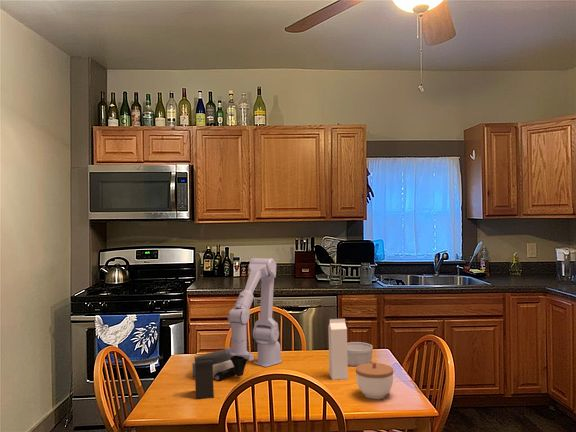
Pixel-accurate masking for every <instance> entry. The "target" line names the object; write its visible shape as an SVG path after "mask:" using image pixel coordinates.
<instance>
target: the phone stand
mask: <svg viewBox="0 0 576 432" xmlns="http://www.w3.org/2000/svg"><path fill="white" fill-rule="evenodd" d="M194 362H195V379H194V380H195V384H194V386H195V400H202V399H203V400H204V399H213V398H215V397H214V394H215V392H214V380H213V378H214V377H213V360H212V359H201V360H195V359H194Z"/></svg>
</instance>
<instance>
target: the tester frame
mask: <svg viewBox="0 0 576 432" xmlns="http://www.w3.org/2000/svg"><path fill="white" fill-rule="evenodd" d="M230 348H232V346H231V347H230ZM231 357H233V356H232V355H230V354H226V348H224V349H220V350H215V351H212V352H208V353H205V354H201V355H196V356H194V361H192V362H191V363H192V365H191V366H192V378H195V360H201V359H212V360H213V365H214V364H218V363H222V362H225V361H229V360H230V358H231Z"/></svg>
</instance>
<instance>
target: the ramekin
mask: <svg viewBox="0 0 576 432" xmlns="http://www.w3.org/2000/svg"><path fill="white" fill-rule="evenodd" d="M372 355H373V345H372V344H370V343H367V342H361V341H350V342H347V362H348V367H349V366H350V367H357V366H358V365H361V364H365V363H372V358H373V357H372Z"/></svg>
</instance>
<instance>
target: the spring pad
mask: <svg viewBox="0 0 576 432" xmlns="http://www.w3.org/2000/svg"><path fill="white" fill-rule="evenodd" d="M232 367H234V365H233V363H232V361H231V360H229V361H225V362H222V363H218V364H214V365H213V378H214V376H215V374H216V373H218V372H222V371H225V370H227V369H230V368H232Z"/></svg>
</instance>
